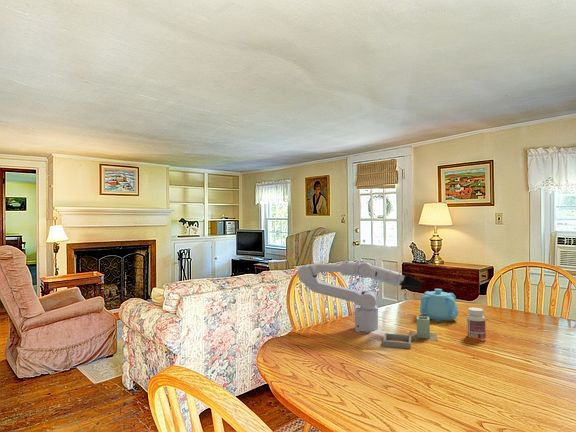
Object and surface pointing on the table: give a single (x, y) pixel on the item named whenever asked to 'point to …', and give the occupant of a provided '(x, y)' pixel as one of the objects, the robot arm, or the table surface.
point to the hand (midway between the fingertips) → (420, 286)
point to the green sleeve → (423, 327)
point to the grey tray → (397, 344)
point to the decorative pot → (439, 305)
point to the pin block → (432, 338)
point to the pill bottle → (476, 324)
